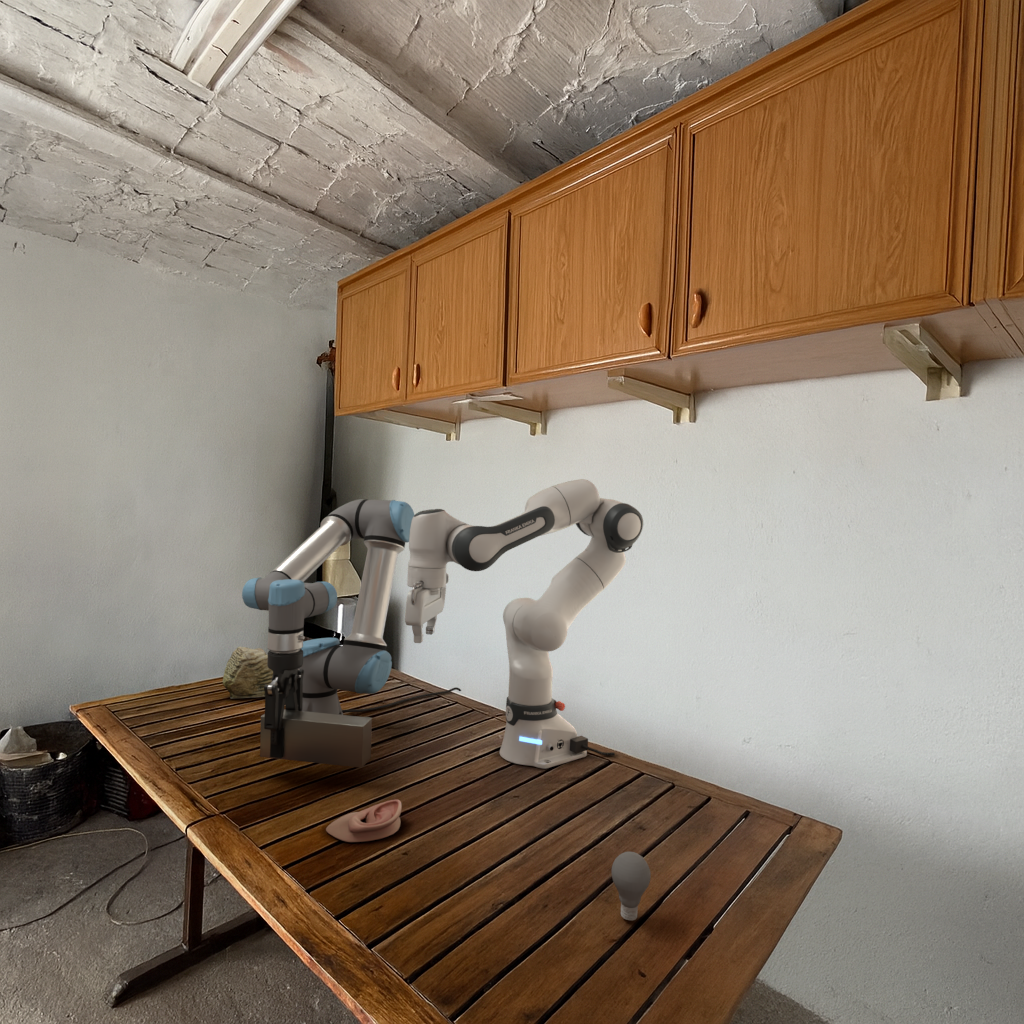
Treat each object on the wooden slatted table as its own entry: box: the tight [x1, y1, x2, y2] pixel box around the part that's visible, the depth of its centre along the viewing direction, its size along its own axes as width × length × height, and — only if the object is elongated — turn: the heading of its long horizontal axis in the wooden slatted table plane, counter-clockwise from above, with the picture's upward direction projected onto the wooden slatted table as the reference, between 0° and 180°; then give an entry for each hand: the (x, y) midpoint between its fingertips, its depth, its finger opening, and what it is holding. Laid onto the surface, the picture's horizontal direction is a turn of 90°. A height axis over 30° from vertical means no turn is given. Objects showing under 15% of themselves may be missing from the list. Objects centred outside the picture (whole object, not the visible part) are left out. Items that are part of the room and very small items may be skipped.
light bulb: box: [611, 851, 652, 921], centre depth 99 cm, size 6×6×10 cm
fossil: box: [222, 646, 280, 699], centre depth 198 cm, size 9×18×15 cm, turn 132°
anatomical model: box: [325, 799, 403, 843], centre depth 122 cm, size 13×4×12 cm
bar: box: [259, 708, 373, 769], centre depth 141 cm, size 24×5×9 cm, turn 81°
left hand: (283, 751), depth 143 cm, fingers closed on bar, 5 cm apart
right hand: (424, 638), depth 147 cm, fingers open, 8 cm apart
